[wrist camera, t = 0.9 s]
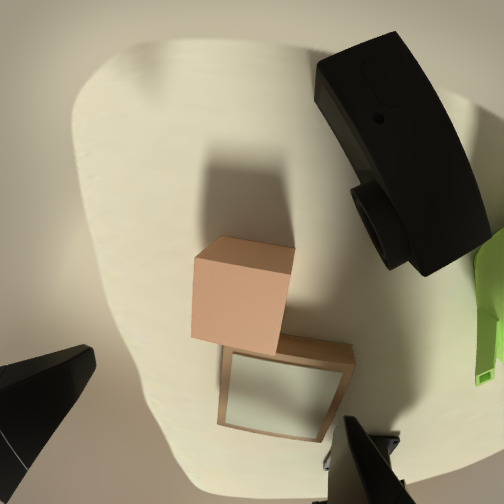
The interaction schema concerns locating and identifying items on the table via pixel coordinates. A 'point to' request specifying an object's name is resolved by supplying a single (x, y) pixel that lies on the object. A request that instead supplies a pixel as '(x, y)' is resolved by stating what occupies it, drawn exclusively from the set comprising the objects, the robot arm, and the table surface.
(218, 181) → the table surface
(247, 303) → the cube
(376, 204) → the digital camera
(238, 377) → the stand
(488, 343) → the teapot
